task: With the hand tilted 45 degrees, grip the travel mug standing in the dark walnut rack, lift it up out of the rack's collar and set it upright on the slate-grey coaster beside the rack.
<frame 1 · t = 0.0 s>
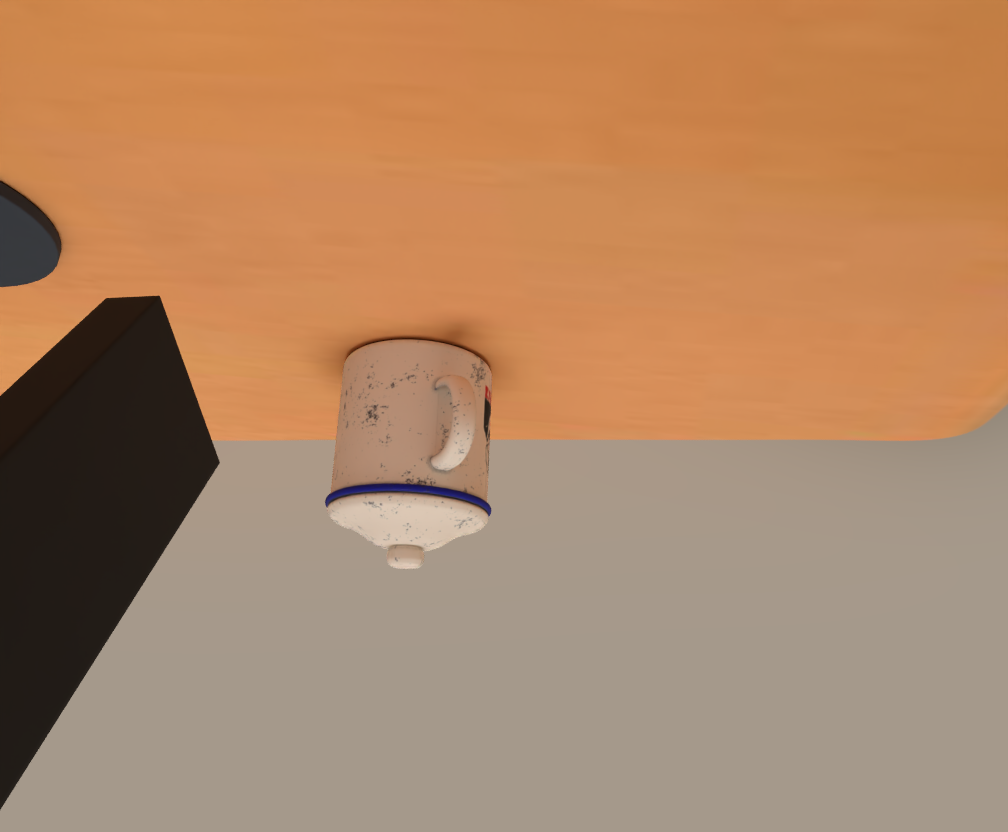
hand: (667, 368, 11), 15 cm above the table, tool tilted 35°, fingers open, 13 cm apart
teacup with lid: (428, 355, 50), on the table
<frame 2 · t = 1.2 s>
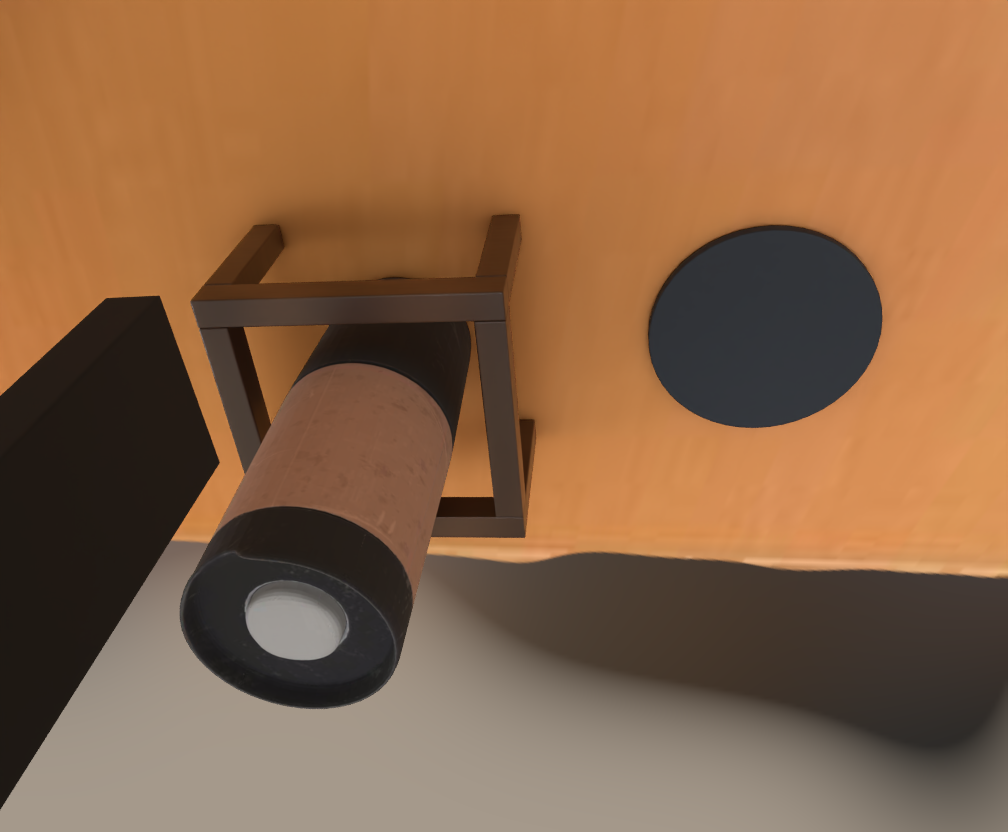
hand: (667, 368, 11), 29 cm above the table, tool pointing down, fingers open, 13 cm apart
travel mug: (404, 336, 45), on the table
rack: (403, 338, 45), on the table
coaster: (761, 330, 43), on the table
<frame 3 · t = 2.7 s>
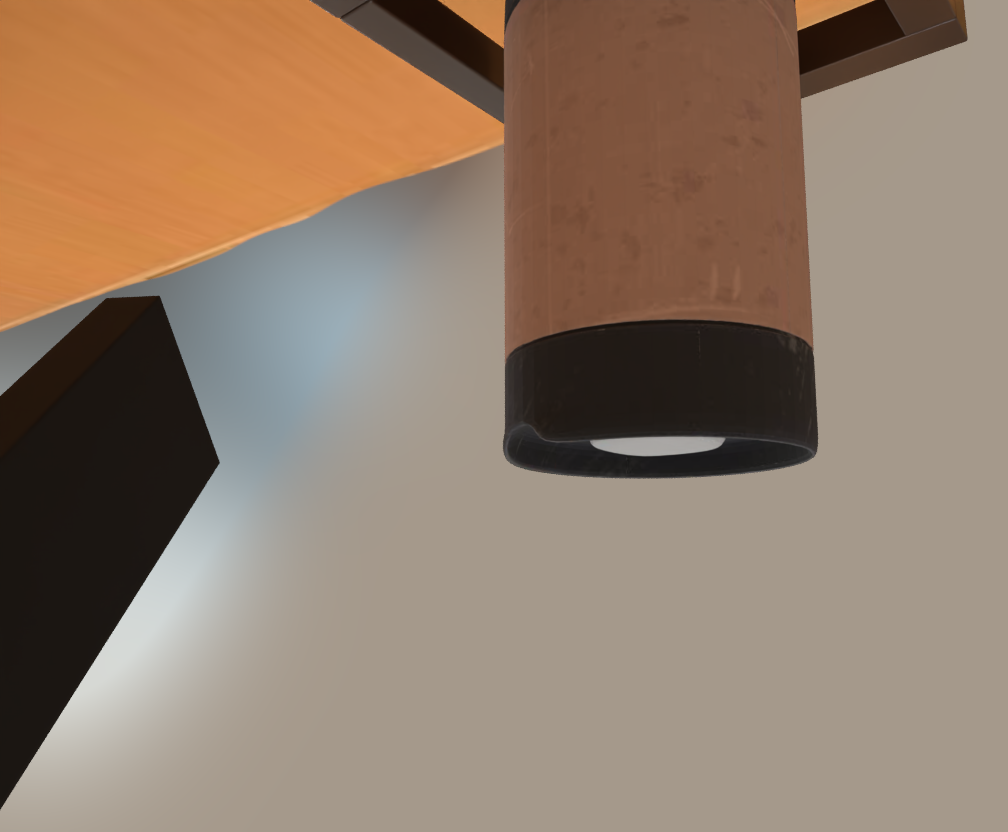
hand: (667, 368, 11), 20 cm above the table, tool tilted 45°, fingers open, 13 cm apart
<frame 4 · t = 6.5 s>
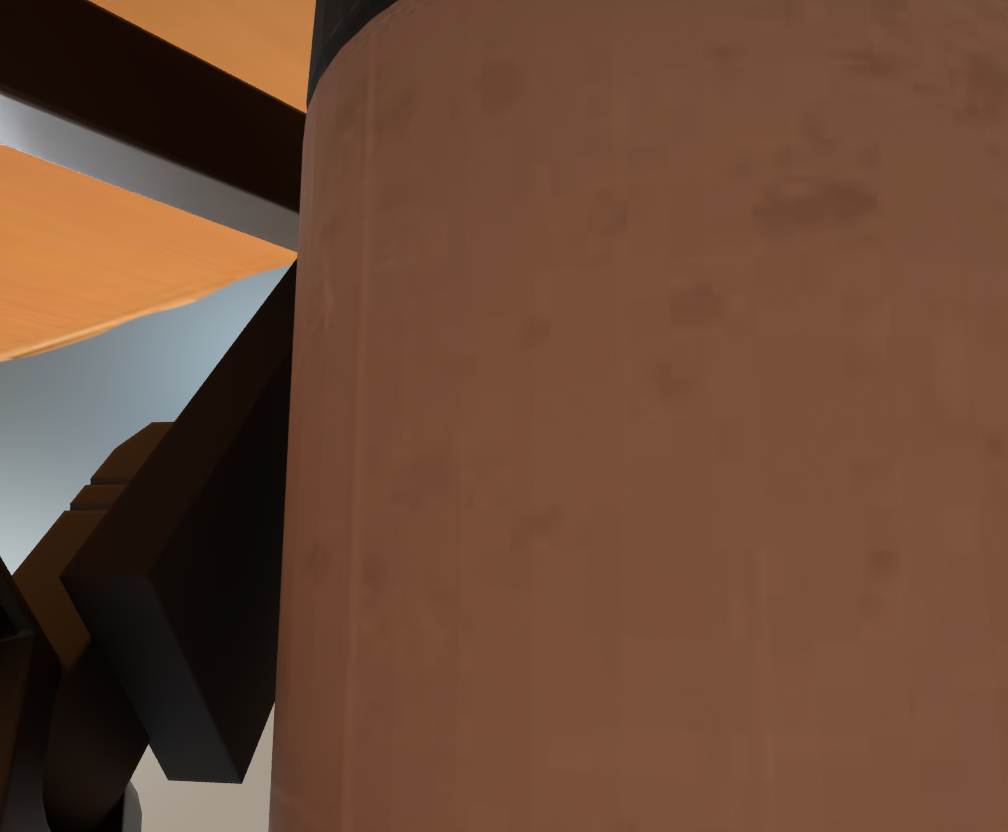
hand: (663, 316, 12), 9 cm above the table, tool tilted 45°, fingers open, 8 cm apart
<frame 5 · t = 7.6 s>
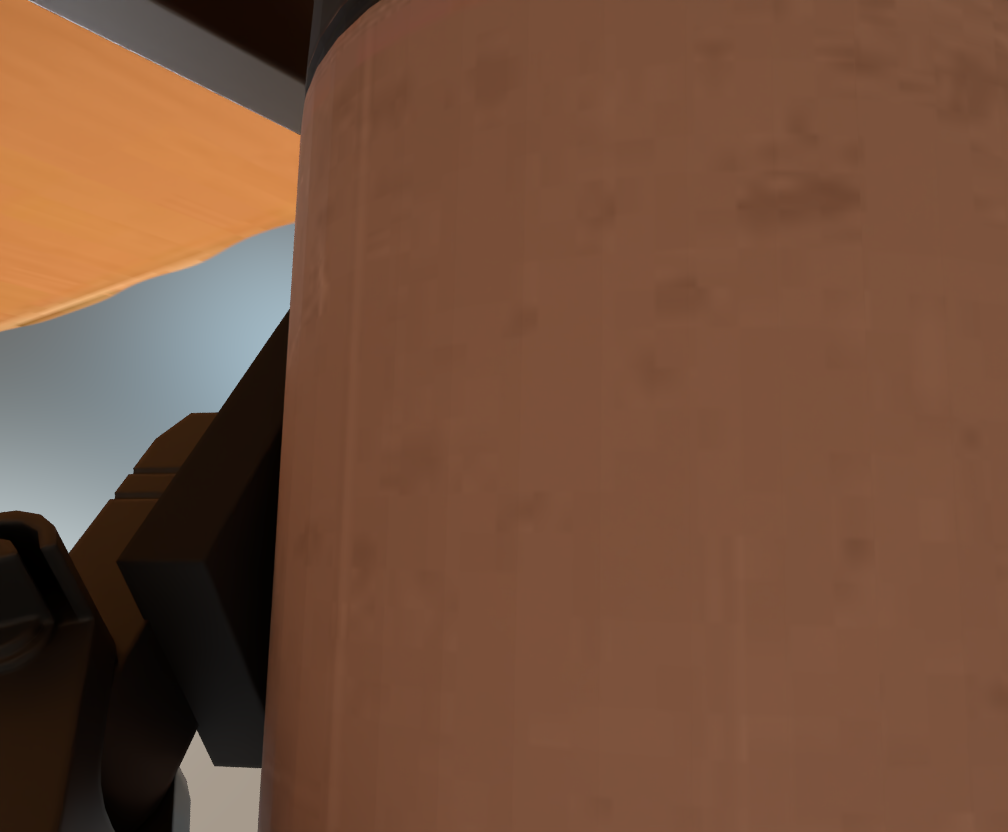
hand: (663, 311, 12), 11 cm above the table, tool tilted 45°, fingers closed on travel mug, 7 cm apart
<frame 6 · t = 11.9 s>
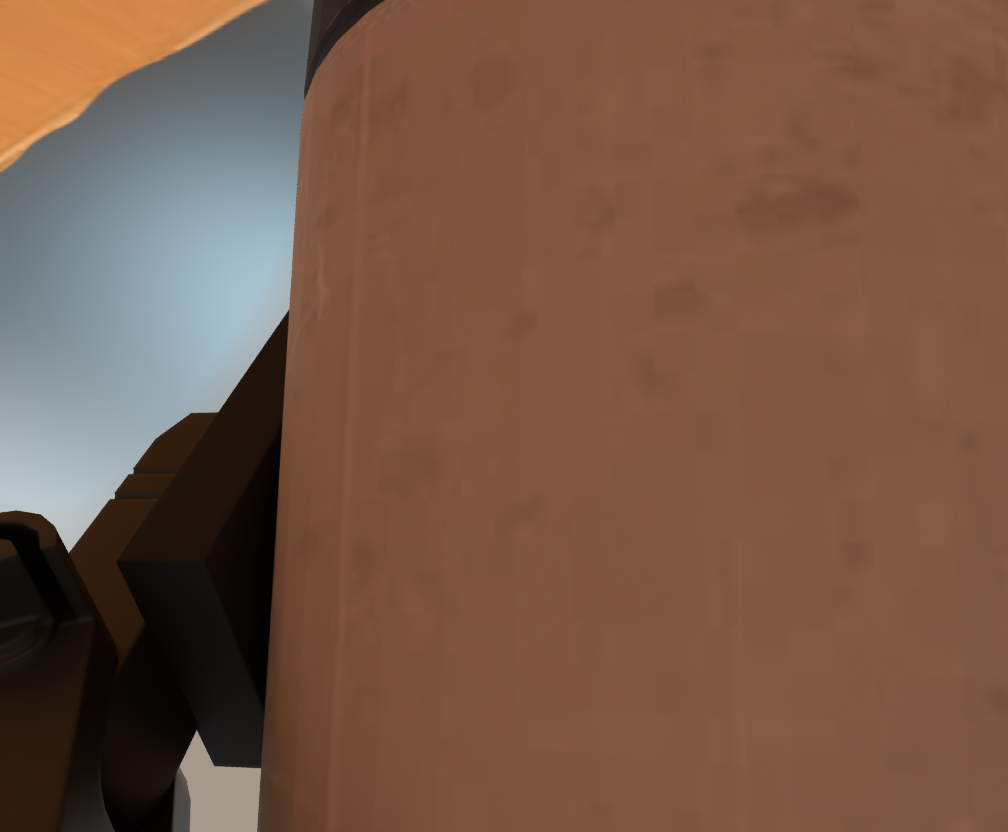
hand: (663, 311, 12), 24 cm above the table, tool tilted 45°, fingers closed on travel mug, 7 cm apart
when the fingers open (10 cm above the table, at t = 16.4 s): travel mug stays where it is, resting on coaster.
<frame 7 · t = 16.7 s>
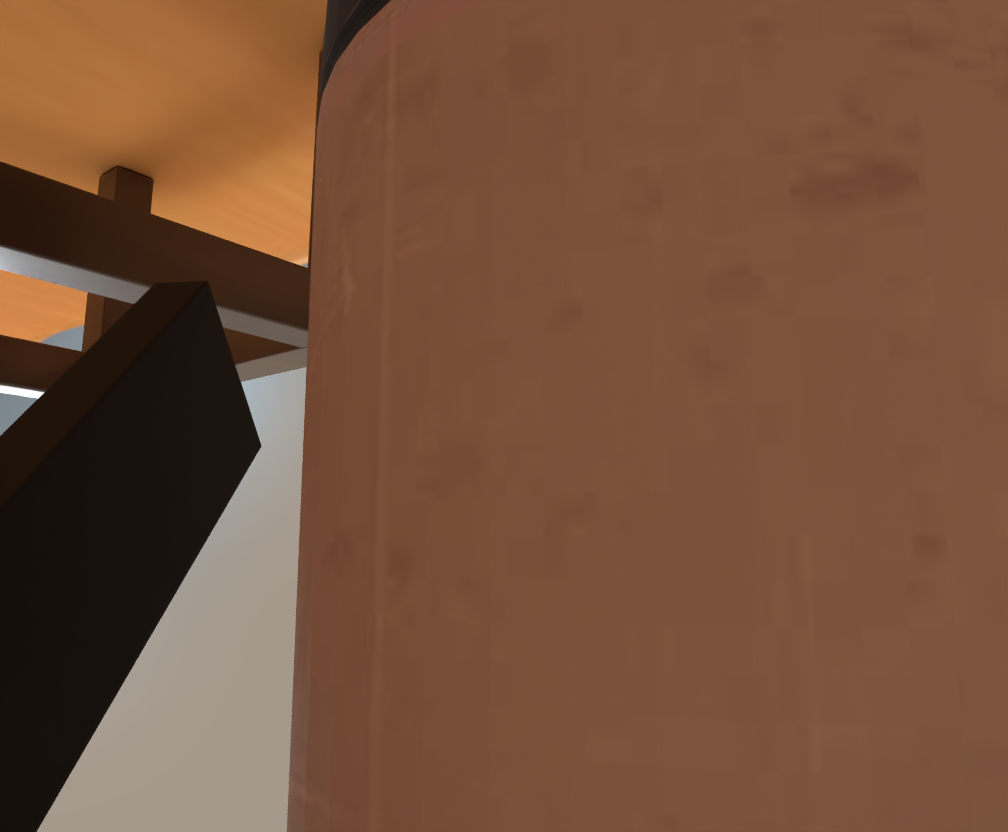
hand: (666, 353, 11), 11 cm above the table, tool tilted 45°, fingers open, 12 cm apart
rack: (21, 29, 22), on the table
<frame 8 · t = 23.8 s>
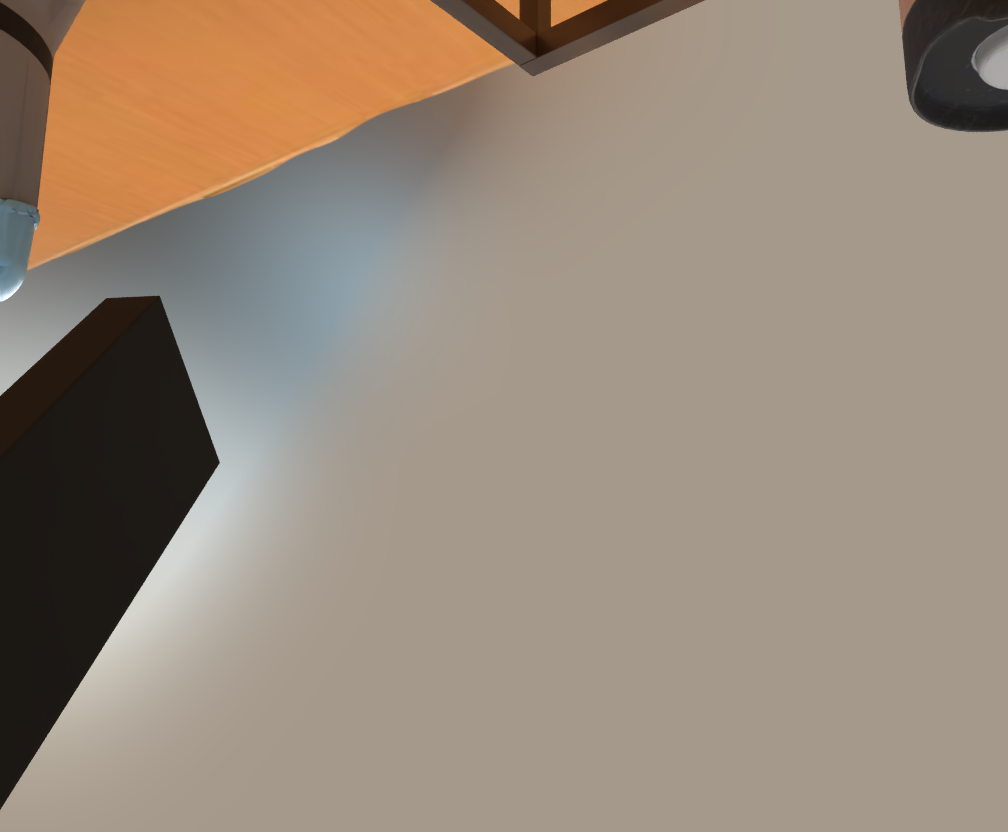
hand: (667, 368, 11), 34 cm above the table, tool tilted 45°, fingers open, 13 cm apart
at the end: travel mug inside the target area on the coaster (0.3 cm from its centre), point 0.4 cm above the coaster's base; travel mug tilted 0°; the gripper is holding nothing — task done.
